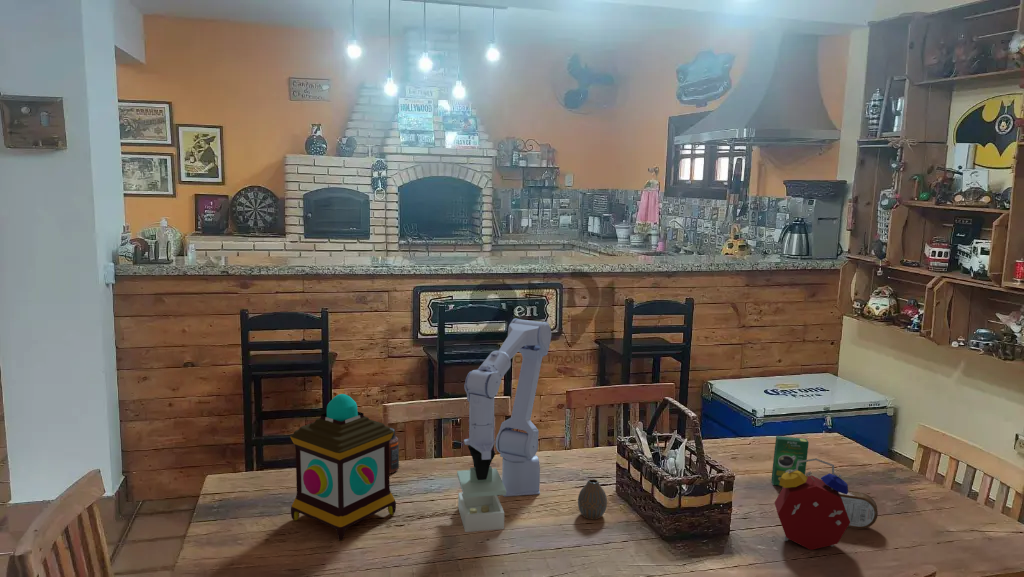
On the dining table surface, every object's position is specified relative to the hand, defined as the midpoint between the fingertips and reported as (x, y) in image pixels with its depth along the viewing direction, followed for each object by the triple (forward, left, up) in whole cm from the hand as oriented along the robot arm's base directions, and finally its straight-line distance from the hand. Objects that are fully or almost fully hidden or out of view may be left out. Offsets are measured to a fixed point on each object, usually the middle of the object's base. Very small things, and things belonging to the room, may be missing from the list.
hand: (481, 477), depth 168 cm
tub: (0, 0, -10) cm, 10 cm away
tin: (-83, +17, -10) cm, 86 cm away
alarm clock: (-70, +25, -10) cm, 75 cm away
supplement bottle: (+21, -32, -10) cm, 39 cm away
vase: (-26, +3, -10) cm, 29 cm away
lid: (0, 0, -2) cm, 2 cm away
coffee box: (-83, -5, -10) cm, 84 cm away
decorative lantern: (+32, -6, -10) cm, 34 cm away
